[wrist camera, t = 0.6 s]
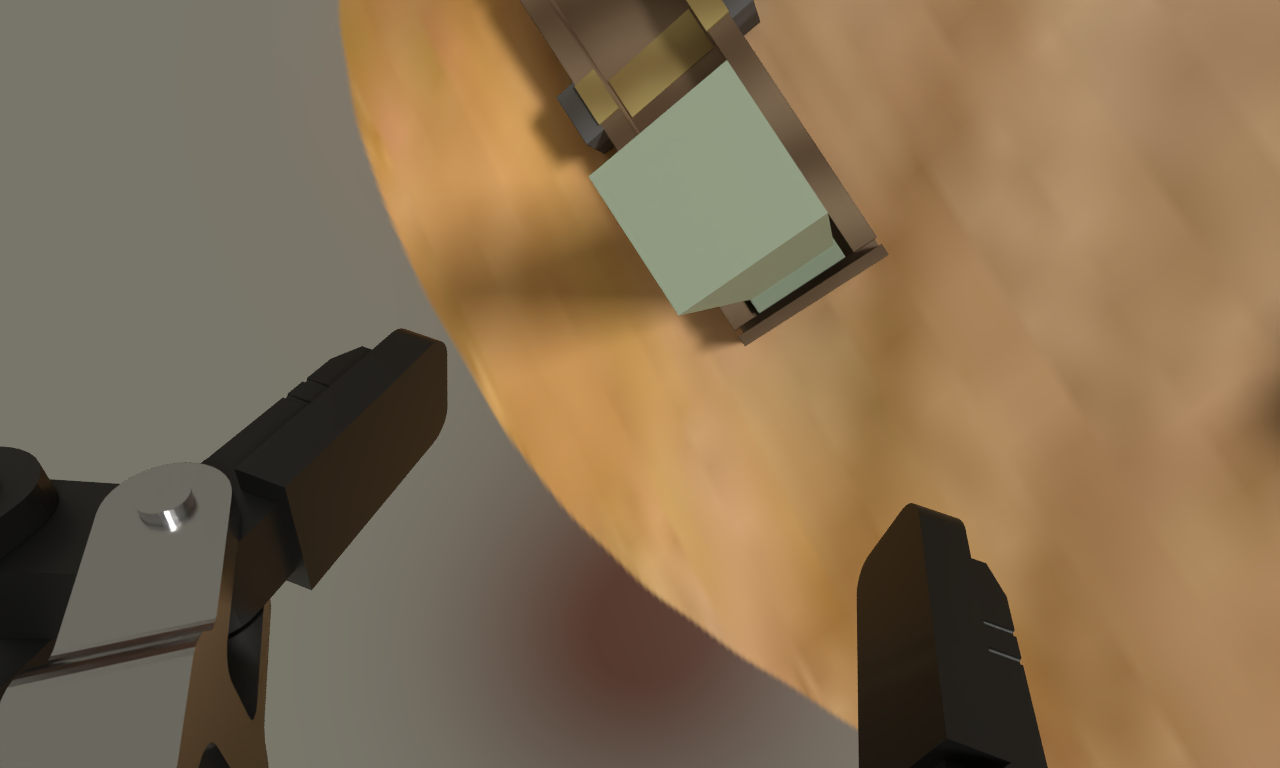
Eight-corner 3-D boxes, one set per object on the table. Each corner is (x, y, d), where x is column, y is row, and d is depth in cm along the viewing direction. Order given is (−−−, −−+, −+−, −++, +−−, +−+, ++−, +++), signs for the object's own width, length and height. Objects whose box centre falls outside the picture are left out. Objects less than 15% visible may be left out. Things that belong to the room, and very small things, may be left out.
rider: (845, 258, 31) (850, 234, 15) (764, 311, 32) (689, 342, 16) (780, 160, 31) (715, 30, 15) (703, 217, 33) (569, 157, 17)
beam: (906, 242, 31) (913, 239, 28) (733, 353, 34) (725, 358, 32) (648, -146, 31) (631, -184, 29) (506, 2, 35) (479, -20, 32)
